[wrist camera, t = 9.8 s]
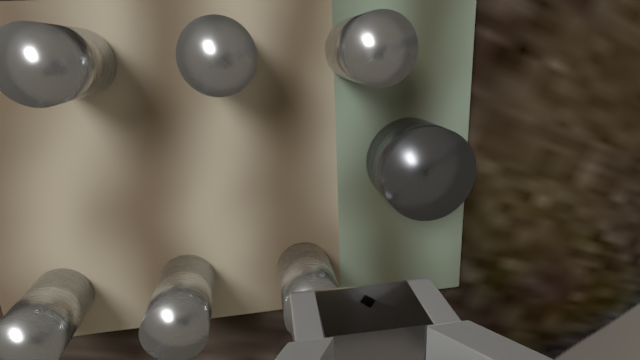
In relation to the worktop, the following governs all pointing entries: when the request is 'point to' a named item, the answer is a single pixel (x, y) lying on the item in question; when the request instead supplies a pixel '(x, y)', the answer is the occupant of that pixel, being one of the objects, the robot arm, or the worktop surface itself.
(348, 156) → the board
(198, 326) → the spacers
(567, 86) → the worktop surface
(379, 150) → the dark metal plug
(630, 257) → the worktop surface
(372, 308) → the robot arm
